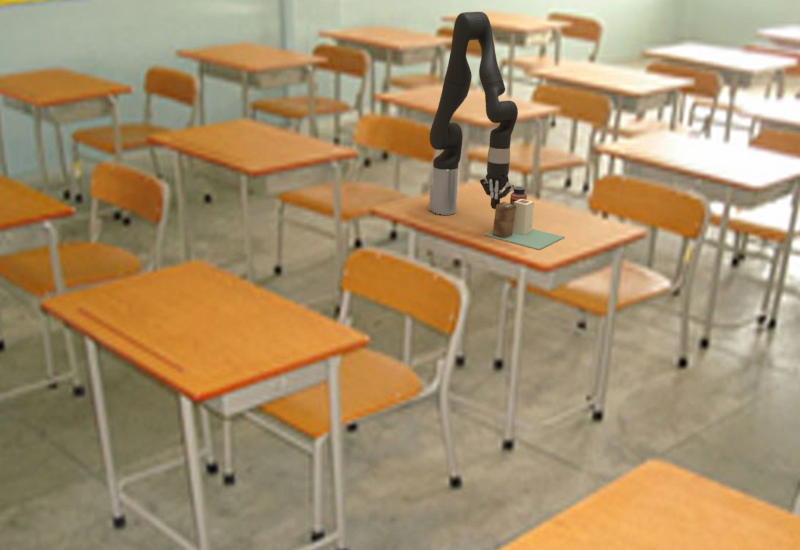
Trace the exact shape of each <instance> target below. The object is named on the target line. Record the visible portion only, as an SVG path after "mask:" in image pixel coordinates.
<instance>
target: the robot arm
mask: <svg viewBox="0 0 800 550" xmlns="http://www.w3.org/2000/svg"><path fill="white" fill-rule="evenodd" d="M470 41H477V42H478V43H479V46H480V49H481V59H480V64H479V69H478V74H479V79H480V83H481V86H482V89H483V91H484V101H485V113H486V116H487V119H488V120H489V121H490V122H491V123H492V124H498V126H497V127H495V128H493V129H492V130H491V131H490V134H489V143H488V151H487V163H486V175H485V177H484V178H482V179H480V180H479V182H480V184H481V187H482V188H483V190H484V193H485V194H486V195H487V196H489V197H490V207H491V209H492V210H493V209H494V210H496V205H497V204H499V203H501V199H503V198H505V197H507V196H508V195H509V194H510V192H511V191H512V190H514V187H515V186H514V185H513V184H511V182H509V181H510V180H509V174H510V173H509V172H510V161H511V141H512V134H513V133H514V132H513V131H514V128H515V125H516V123H517V121H518V115H519V113H518V112H519V109H518V106H517V103H515V101H513V100H503V101H502V100H500V99H499V97H500V96H502V95H504V93H505V92H506V85H505V83H504V79H503V77H502V74H501V71H500V67H499V63H498V61H497V60H498V59H497V54H496V48H495V42H494V36H493V31H492V25H491V21H490V19H489V16H488V15H487V14H486V13H485V12H484V11H467V12H461V13H459V14H458V15H457V17H456V18H455V21H454V25H453V32H452V39H451V47H450V52H449V58H448V64H447V66H446V67H447V68H446V72H445V75H444V81H443V84H442V90H441V94H440V98H439V103H438V106H437V110H436V112H435V115H434V118H433V122H432V125H431V127H430V132H429V143H430V145H431V147H432V149H434V150H439V151H442V152H441V153H440V154H438V155H437V156H435V158H434V159H433V160H432V161H433V162H432V163H433V164H432V184H431V185H430V187H429V201H428V202H429V204H428V205H429V207H428V210H430V212H431V213H432V214H435V213H436V214H435V215H439V214H441V216H449V215H455V214H456V213H457V203H458V202H457V199H458V182H459V181H458V180H459V163H460V161H461V158H462V149H463V147H462V146H463V130H462V127H461V125H459V124H458V123H457V122H451V120H452V117H453V115H454V114H455V113H456V111H457V110H458V109H459V108H460V107H461V106H462V104H463V103H464V101H466V98H467V96H468V94H469V92H470V88H471V84H472V71H471V68H470V65H469V62H468V59H467V50H468V47H469V42H470Z"/></svg>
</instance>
